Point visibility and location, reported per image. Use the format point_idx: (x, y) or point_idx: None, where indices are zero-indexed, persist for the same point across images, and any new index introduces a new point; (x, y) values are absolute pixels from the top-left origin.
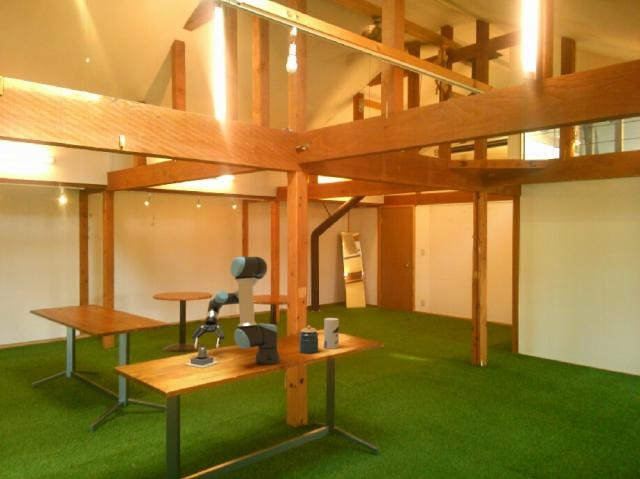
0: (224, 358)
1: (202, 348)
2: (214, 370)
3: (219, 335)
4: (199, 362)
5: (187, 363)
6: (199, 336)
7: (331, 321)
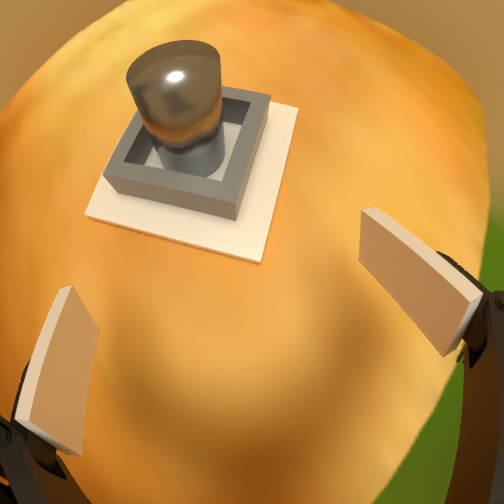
0: (102, 369)
1: (161, 49)
2: (88, 92)
3: (11, 468)
4: None
5: (288, 117)
6: (472, 391)
7: None
